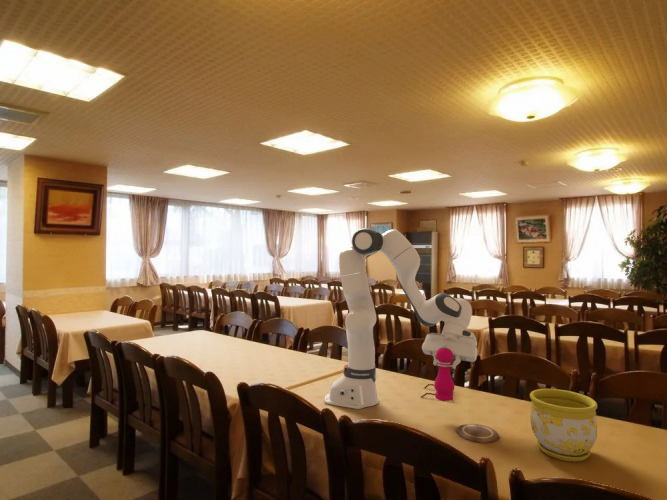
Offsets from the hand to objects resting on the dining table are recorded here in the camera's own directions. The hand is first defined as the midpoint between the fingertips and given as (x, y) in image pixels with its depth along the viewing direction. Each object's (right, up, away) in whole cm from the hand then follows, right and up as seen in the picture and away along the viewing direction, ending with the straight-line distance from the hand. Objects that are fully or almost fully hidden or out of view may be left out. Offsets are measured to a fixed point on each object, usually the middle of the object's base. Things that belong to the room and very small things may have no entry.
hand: (443, 366), depth 147 cm
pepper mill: (0, -12, 0) cm, 12 cm away
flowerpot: (+30, -19, -24) cm, 43 cm away
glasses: (+5, -21, +28) cm, 35 cm away
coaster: (+8, -19, -12) cm, 24 cm away
